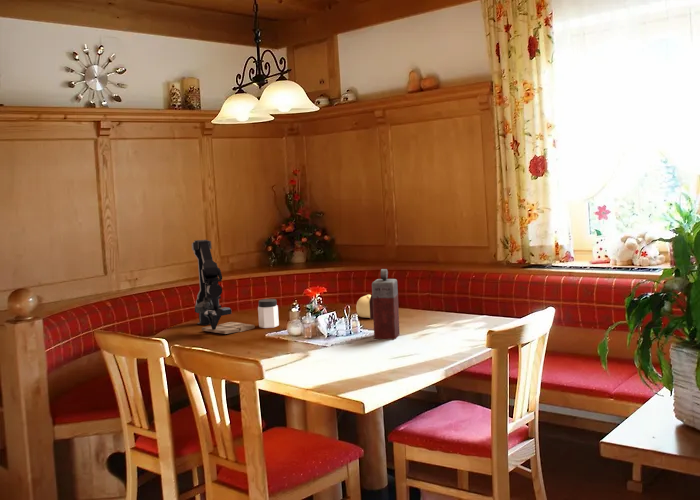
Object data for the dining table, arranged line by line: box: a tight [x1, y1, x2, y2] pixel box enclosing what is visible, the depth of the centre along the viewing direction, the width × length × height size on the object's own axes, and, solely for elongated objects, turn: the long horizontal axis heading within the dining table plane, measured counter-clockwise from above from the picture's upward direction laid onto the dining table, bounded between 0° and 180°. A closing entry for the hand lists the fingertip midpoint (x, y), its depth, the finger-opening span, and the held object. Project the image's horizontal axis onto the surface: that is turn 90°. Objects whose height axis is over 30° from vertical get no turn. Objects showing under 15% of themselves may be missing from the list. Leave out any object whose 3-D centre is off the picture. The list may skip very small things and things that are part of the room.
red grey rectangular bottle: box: [369, 268, 400, 340], centre depth 316 cm, size 9×11×28 cm
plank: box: [201, 325, 240, 335], centre depth 342 cm, size 16×8×1 cm, turn 50°
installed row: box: [217, 321, 256, 333], centre depth 349 cm, size 16×9×2 cm, turn 50°
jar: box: [257, 298, 280, 329], centre depth 349 cm, size 9×8×12 cm
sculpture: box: [355, 293, 372, 319], centre depth 359 cm, size 11×12×11 cm
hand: (213, 329), depth 339 cm, fingers closed, pressing on plank
